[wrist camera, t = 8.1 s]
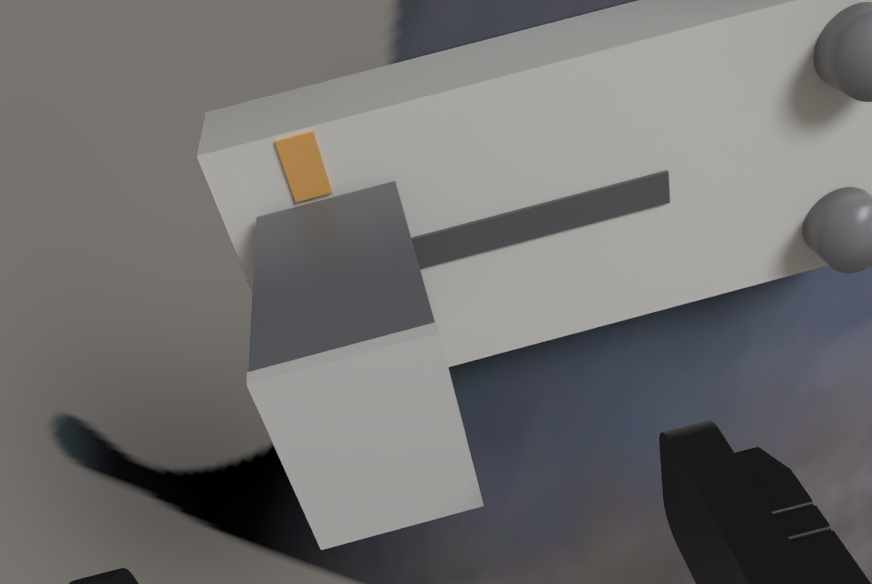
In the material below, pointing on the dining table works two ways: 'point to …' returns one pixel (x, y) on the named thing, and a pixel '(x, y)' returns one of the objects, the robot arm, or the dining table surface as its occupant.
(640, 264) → the console
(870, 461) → the dining table surface
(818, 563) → the robot arm
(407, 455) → the fader tab
